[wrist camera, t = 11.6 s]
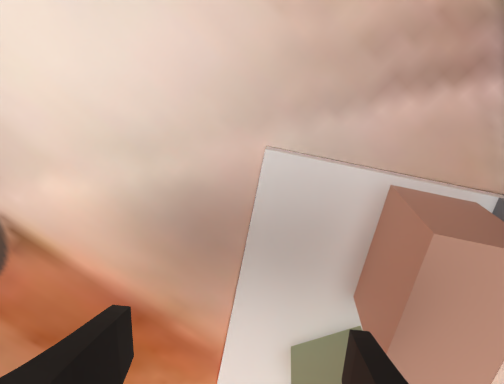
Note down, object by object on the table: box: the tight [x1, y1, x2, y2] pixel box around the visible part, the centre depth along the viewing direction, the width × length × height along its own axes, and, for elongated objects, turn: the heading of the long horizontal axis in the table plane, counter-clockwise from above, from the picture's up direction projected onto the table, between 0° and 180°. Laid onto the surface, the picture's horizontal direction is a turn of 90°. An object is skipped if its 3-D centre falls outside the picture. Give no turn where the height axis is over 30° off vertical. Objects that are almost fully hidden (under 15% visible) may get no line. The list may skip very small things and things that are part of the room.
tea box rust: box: [353, 185, 504, 384], centre depth 17 cm, size 5×7×6 cm
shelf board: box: [217, 146, 504, 384], centre depth 22 cm, size 13×22×2 cm, turn 169°
